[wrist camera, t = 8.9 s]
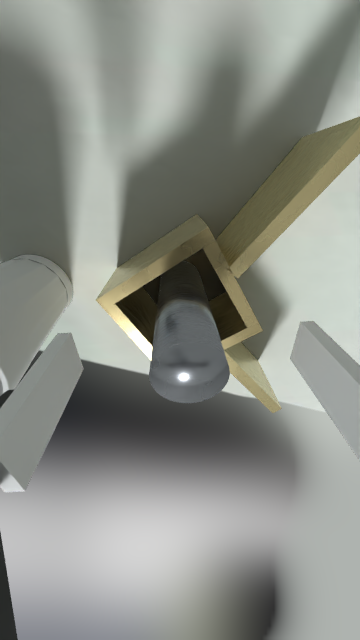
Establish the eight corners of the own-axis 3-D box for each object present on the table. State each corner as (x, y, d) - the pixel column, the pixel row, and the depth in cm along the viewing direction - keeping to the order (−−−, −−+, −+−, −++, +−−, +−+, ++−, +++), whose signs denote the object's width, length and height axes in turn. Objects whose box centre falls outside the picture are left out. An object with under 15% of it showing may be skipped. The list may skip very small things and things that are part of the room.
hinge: (114, 265, 21) (92, 296, 15) (306, 134, 17) (382, 106, 11) (209, 384, 30) (219, 433, 24) (353, 318, 25) (409, 360, 19)
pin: (152, 275, 22) (132, 368, 11) (187, 252, 21) (205, 329, 10) (174, 305, 24) (177, 412, 13) (207, 286, 23) (242, 383, 12)
